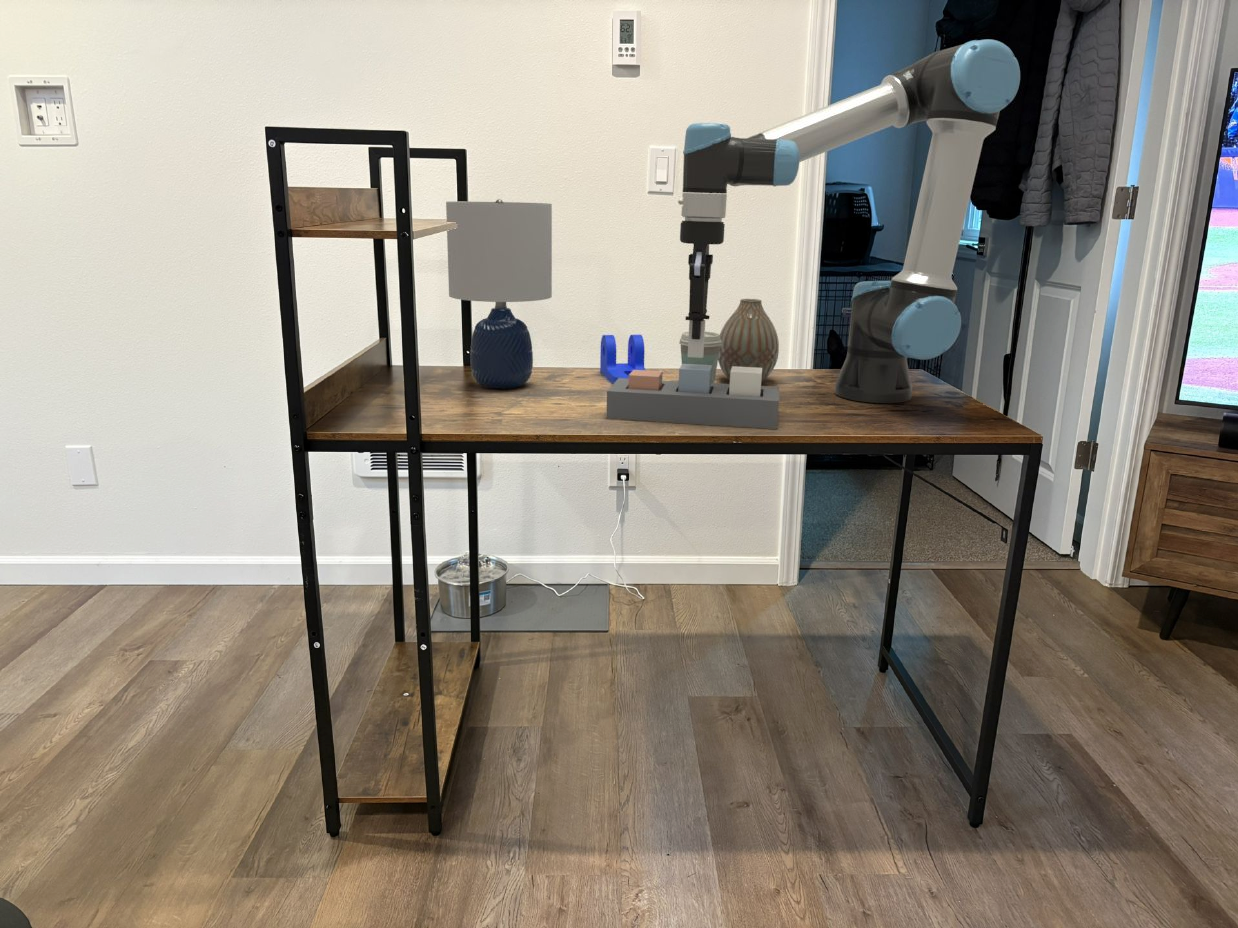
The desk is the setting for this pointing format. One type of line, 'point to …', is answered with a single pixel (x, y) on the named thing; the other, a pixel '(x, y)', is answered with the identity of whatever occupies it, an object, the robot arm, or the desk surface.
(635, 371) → the terracotta key
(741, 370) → the white key
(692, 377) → the slate key
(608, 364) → the bracket
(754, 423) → the grey socket block
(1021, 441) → the desk surface
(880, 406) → the desk surface
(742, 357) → the vase
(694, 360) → the coffee cup
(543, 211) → the lamp
